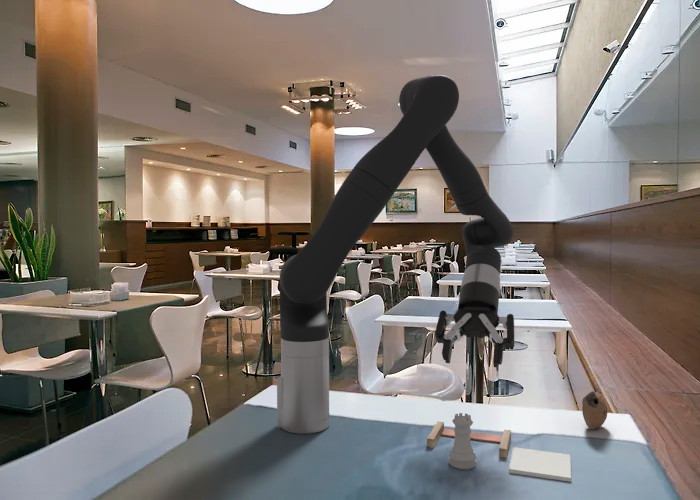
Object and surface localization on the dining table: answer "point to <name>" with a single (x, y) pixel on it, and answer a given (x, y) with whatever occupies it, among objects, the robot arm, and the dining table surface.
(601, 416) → the oil lamp
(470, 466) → the rook chess piece
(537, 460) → the tile
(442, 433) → the wooden u-shaped frame
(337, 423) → the dining table surface
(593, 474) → the dining table surface
